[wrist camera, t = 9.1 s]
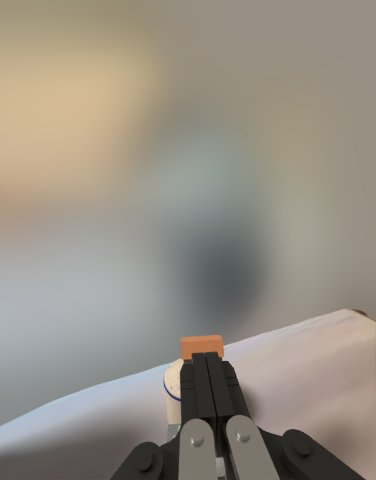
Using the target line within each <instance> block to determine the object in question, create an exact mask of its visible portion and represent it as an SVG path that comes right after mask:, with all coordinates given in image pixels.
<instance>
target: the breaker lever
mask: <svg viewBox="0 0 376 480" xmlns="http://www.w3.org/2000/svg"><path fill="white" fill-rule="evenodd" d="M214 351H217V352H218V355H219V359H220V361H222V357H224V349H223V339H222V338H221V336H220V335H213V336H198V337H184V338H181V352H182V360H183V363H184V364H191V363H192V358H191V354H192V353H200V352H204V354H205V352H214ZM216 466H217V476H218V477H222V476H225V465H224V460H223V457H217V453H216Z"/></svg>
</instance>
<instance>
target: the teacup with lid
mask: <svg viewBox="0 0 376 480" xmlns="http://www.w3.org/2000/svg"><path fill="white" fill-rule="evenodd" d="M183 364H184V363H183V360H182V358H181V359H178V360H176V361H175V362H173V363H172V364H171V365H170V366H169V367H168V369H167V370H166V373H165V376H164V387H165V390H166V405H167V419H168V423H169V425H170V424H181V398H180V370H181V368H182V365H183Z"/></svg>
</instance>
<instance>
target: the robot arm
mask: <svg viewBox="0 0 376 480" xmlns="http://www.w3.org/2000/svg"><path fill="white" fill-rule="evenodd" d="M191 358H192V363H191V364H183V365H182V368H181V370H180V398H181V426H180V429H179V431H178V433H177V435H176V436H175V437H174V438H173V439H172V440H171V441H169V442H168V443H166V444H164V445H162V446H160V447H159V446H158V445H156V444H155V443H153V442H144V443H141V444H139V445H138V446H137V447H135V448H134V449H133V451H132V452H131V453H130V454H129V456H128V457H127V458H126V460H125V461H124V462H123V463H122V465H121V466H120V467H119V469H118V470H117V471H116V473H115V474H114V475H113V476H112V478H111V479H110V480H218V476H217V466H216V453H217V457H223V460H224V465H225V480H365V479H364V478H363V477H361V476H360V475H359V474H358V473H356V472H355V471H354V470H352V469H351V468H350V467H348V466H347V465H346V464H345V463H343V462H342V461H341V460H339V459H338V458H337V457H335V456H334V455H333V454H332V453H330V452H329V451H328V450H326V449H325V448H324V447H322V446H321V445H320V444H319V443H317V442H316V441H315V440H313V439H312V438H311V437H309V436H308V435H307V434H305V433H304V432H302V431H299V430H296V429H290V430H287V431H286V432H285V433H284V434H283V436H279V435H276V434H272V433H269V432H266V431H264V430H262V429H261V428H259V427H258V426H257V425H256V424H255V423H254V422H253V420H252V419H251V417H250V415H249V412H248V409H247V406H246V403H245V400H244V397H243V394H242V391H241V388H240V386H239V382H238V379H237V376H236V373H235V370H234V368H233V367H232V365H231V364H230V363H229V362H228V361H220V359H219V355H218V352H217V351H214V352H205V354H204V352H200V353H192V354H191Z"/></svg>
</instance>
